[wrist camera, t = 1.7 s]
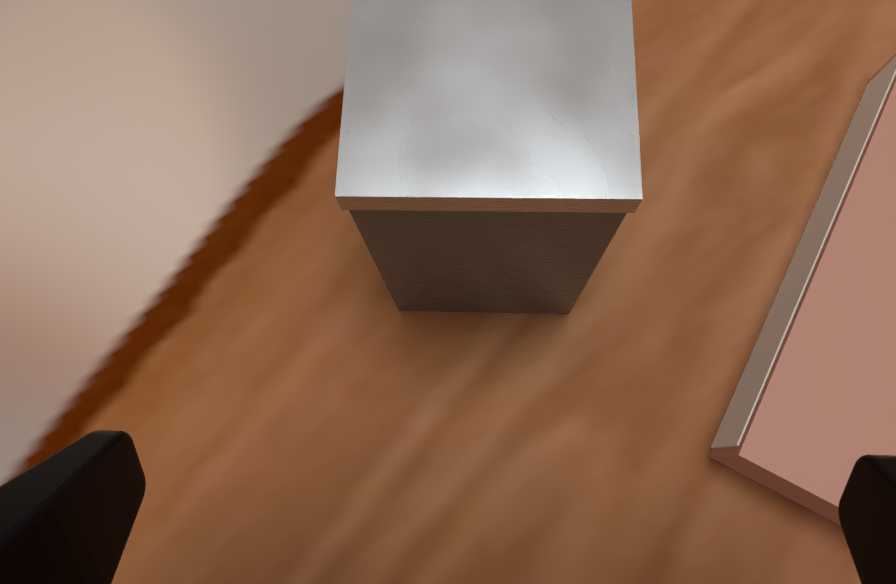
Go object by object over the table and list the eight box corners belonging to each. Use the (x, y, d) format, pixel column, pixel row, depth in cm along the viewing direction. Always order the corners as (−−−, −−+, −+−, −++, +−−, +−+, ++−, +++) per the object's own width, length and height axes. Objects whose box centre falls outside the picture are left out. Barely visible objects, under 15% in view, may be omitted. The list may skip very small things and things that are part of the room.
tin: (571, 316, 22) (642, 199, 13) (396, 313, 23) (334, 196, 13) (568, 157, 24) (628, -55, 14) (404, 156, 24) (356, -51, 15)
